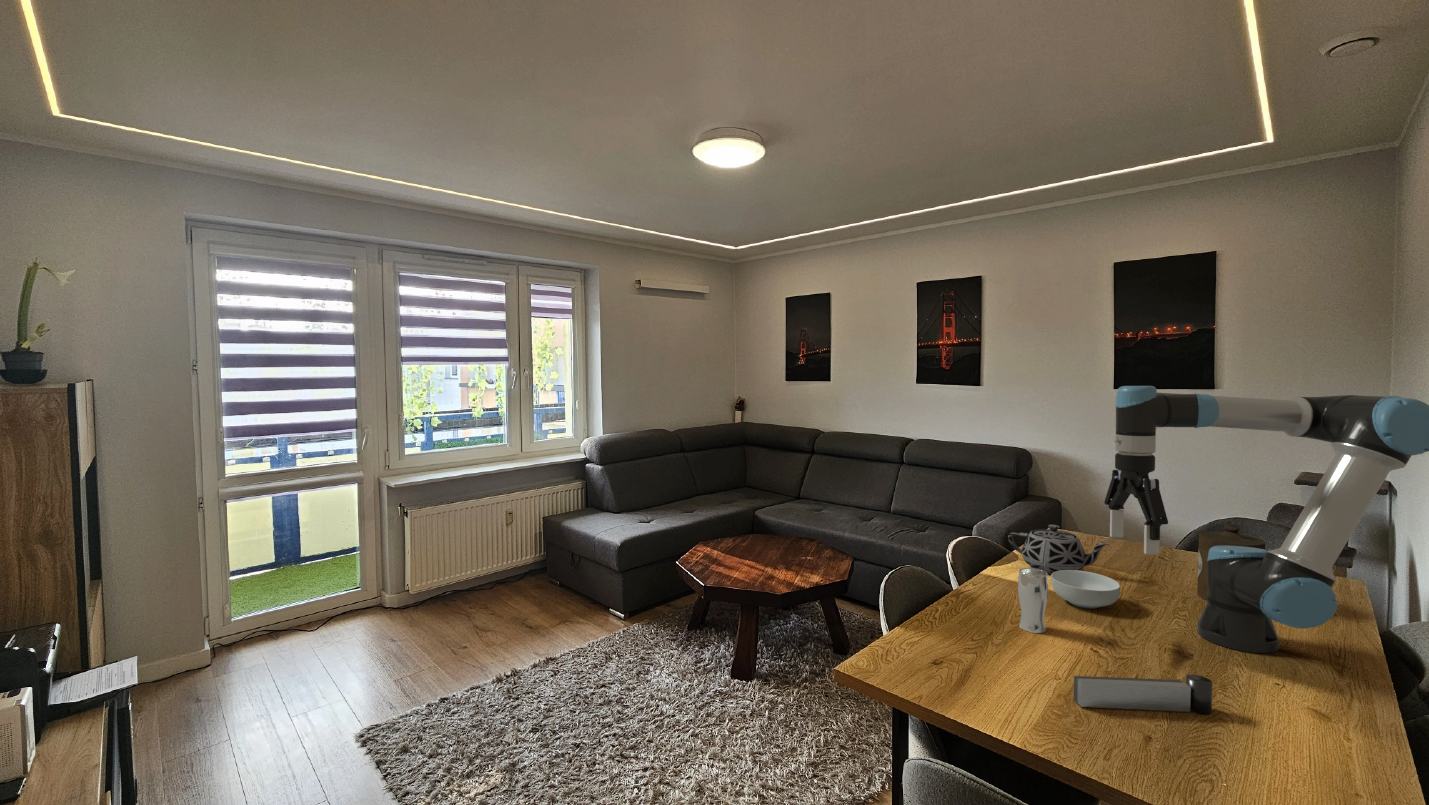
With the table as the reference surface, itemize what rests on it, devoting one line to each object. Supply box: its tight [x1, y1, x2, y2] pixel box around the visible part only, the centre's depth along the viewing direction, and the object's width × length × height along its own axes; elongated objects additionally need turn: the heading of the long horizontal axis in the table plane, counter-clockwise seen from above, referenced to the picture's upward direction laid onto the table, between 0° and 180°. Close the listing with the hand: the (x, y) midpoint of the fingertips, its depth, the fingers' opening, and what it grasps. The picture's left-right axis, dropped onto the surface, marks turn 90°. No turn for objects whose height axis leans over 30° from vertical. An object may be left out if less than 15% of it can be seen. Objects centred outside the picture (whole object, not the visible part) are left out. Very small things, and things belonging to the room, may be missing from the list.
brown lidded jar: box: [1197, 523, 1266, 601], centre depth 172 cm, size 15×15×22 cm
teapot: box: [1007, 524, 1112, 575], centre depth 201 cm, size 19×31×15 cm, turn 47°
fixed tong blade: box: [1073, 674, 1213, 716], centre depth 119 cm, size 24×4×6 cm, turn 84°
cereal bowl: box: [1050, 570, 1121, 609], centre depth 172 cm, size 17×17×7 cm
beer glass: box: [1017, 567, 1049, 634], centre depth 155 cm, size 7×7×15 cm
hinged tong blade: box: [1076, 678, 1191, 713], centre depth 118 cm, size 20×2×5 cm, turn 83°
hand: (1133, 545), depth 137 cm, fingers open, 13 cm apart
